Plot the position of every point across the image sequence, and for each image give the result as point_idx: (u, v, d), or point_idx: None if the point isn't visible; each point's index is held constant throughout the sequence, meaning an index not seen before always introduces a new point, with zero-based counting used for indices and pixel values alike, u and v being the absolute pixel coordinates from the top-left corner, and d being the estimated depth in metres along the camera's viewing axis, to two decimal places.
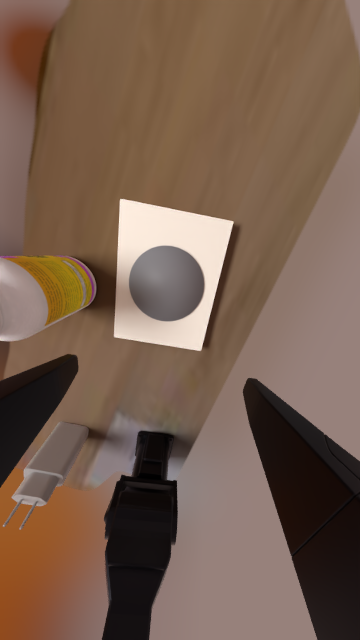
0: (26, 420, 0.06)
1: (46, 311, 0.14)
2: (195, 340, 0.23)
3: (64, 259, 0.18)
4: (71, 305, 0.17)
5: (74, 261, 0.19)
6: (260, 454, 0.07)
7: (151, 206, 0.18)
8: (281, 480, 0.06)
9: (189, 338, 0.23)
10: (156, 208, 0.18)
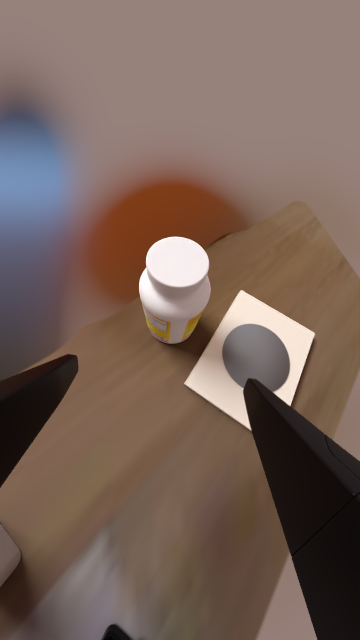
0: (26, 420, 0.06)
1: (203, 309, 0.16)
2: None
3: None
4: (193, 325, 0.19)
5: None
6: (260, 454, 0.07)
7: (259, 301, 0.26)
8: (281, 480, 0.06)
9: None
10: (262, 304, 0.25)
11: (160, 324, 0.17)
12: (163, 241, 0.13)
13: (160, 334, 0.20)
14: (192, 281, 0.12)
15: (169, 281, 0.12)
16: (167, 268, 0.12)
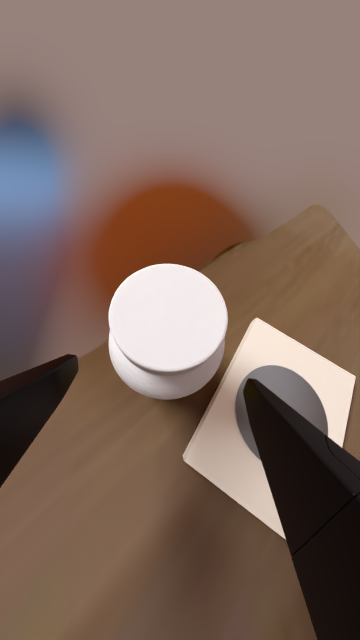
0: (26, 420, 0.06)
1: None
2: None
3: None
4: None
5: None
6: (260, 454, 0.07)
7: (281, 333, 0.20)
8: (281, 480, 0.06)
9: None
10: (285, 336, 0.20)
11: None
12: (144, 273, 0.07)
13: None
14: (197, 356, 0.06)
15: (150, 359, 0.06)
16: (148, 328, 0.06)
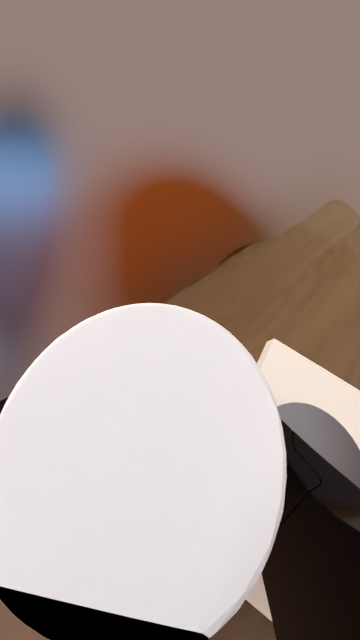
0: None
1: None
2: None
3: None
4: None
5: None
6: None
7: (305, 359, 0.16)
8: None
9: None
10: (310, 363, 0.16)
11: None
12: (94, 328, 0.03)
13: None
14: (217, 596, 0.02)
15: (78, 630, 0.02)
16: (86, 496, 0.02)
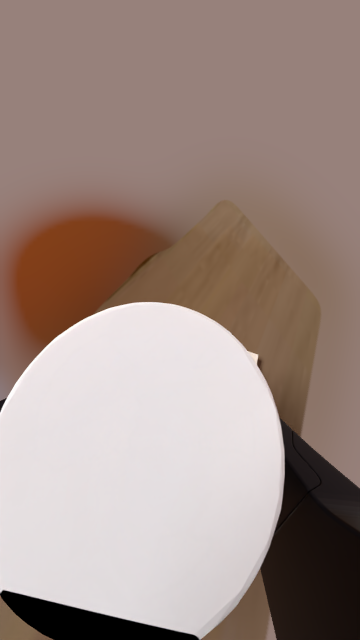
0: None
1: None
2: None
3: None
4: None
5: None
6: None
7: None
8: None
9: None
10: None
11: None
12: (93, 327, 0.03)
13: None
14: (215, 591, 0.02)
15: (78, 625, 0.02)
16: (85, 494, 0.02)
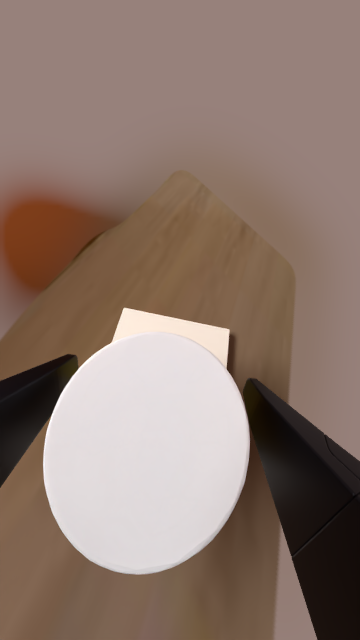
0: (26, 420, 0.06)
1: None
2: None
3: None
4: None
5: None
6: (260, 454, 0.07)
7: (152, 314, 0.19)
8: (281, 480, 0.06)
9: None
10: (156, 316, 0.19)
11: None
12: (113, 352, 0.04)
13: None
14: (198, 532, 0.03)
15: (112, 548, 0.03)
16: (112, 470, 0.04)
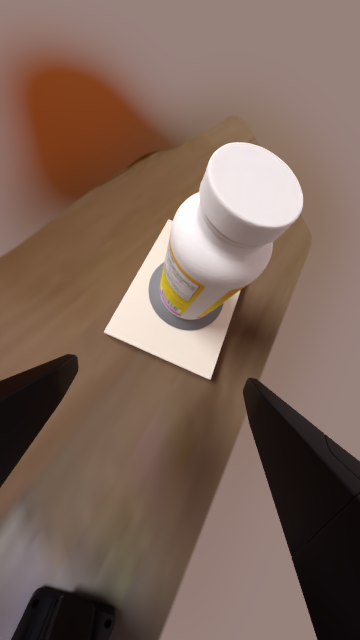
0: (26, 420, 0.06)
1: (253, 280, 0.11)
2: (206, 362, 0.18)
3: None
4: (224, 301, 0.14)
5: None
6: (260, 454, 0.07)
7: None
8: (281, 480, 0.06)
9: (199, 358, 0.18)
10: None
11: (185, 288, 0.12)
12: (239, 146, 0.08)
13: (176, 303, 0.15)
14: (276, 221, 0.07)
15: (241, 210, 0.07)
16: (240, 188, 0.07)
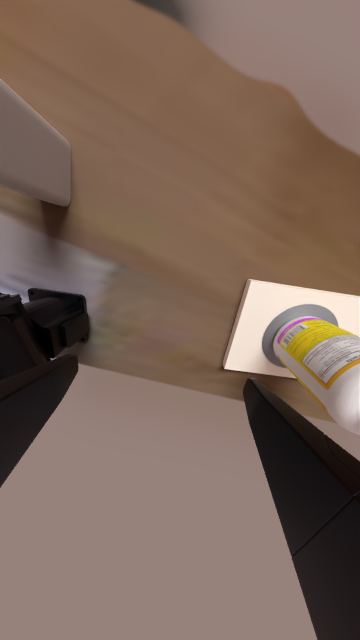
0: (26, 420, 0.06)
1: None
2: (236, 363, 0.23)
3: None
4: None
5: None
6: (260, 454, 0.07)
7: None
8: (281, 480, 0.06)
9: (239, 358, 0.23)
10: None
11: (318, 366, 0.14)
12: None
13: (294, 346, 0.17)
14: None
15: None
16: None
